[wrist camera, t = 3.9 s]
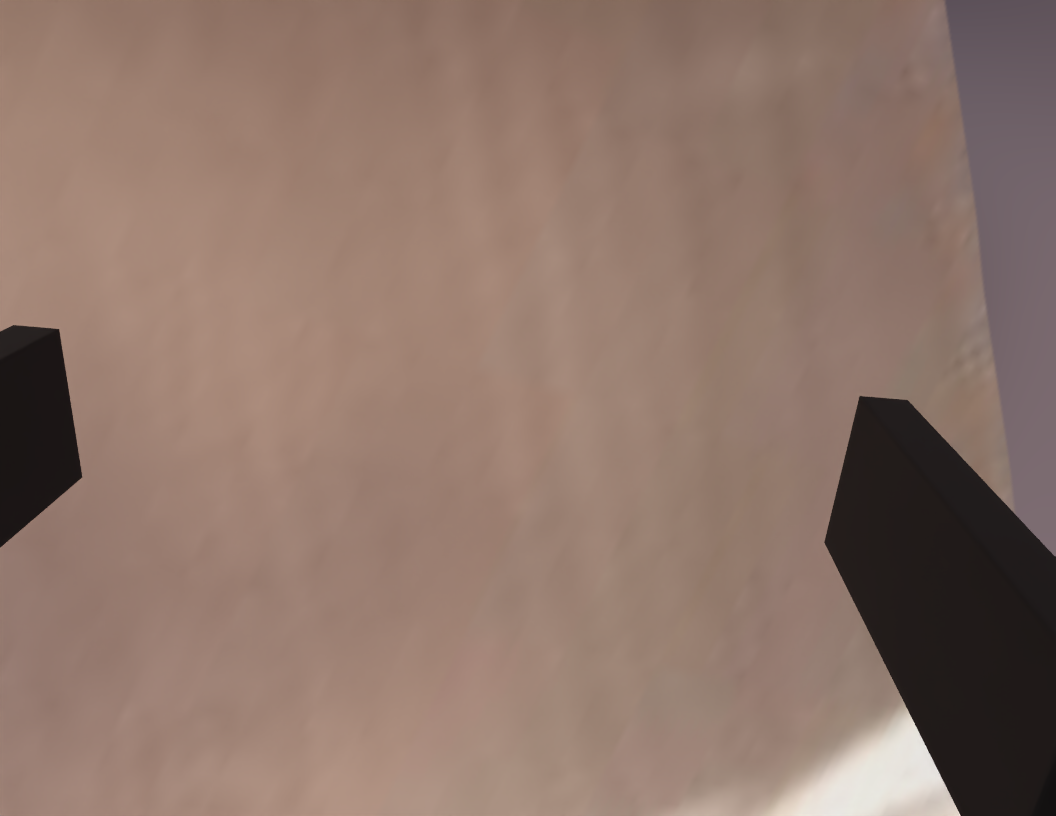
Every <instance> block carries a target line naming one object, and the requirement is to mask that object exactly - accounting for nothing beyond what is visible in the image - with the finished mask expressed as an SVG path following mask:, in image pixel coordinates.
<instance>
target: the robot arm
mask: <svg viewBox="0 0 1056 816" xmlns="http://www.w3.org/2000/svg"><path fill="white" fill-rule="evenodd" d="M81 478H82V472H81V466H80V460H79V453H78V447H77V440H76V434H75V428H74V421H73V415H72V409H71V402H70V396H69V390H68V383H67V377H66V370H65V364H64V358H63V351H62V345H61V339H60V332H59V329H51V328H40V327H28V326H16V325H13V326H11V327H9V328H7V329H5V330H3V331H1V332H0V547H1V546H3V545H4V544H5V543H6V542H7V541H8V540H10V539H11V538H12V537H13V536H14V535H15V534H17V533H18V532H19V531H20V530H21V529H22V528H24V527H25V526H26V525H27V524H28V523H29V522H31V521H32V520H33V519H34V518H35V517H36V516H38V515H39V514H40V513H41V512H42V511H43V510H45V509H46V508H47V507H48V506H49V505H50V504H52V503H53V502H54V501H55V500H56V499H57V498H59V497H60V496H61V495H62V494H63V493H64V492H66V491H67V490H68V489H69V488H70V487H71V486H73V485H74V484H75V483H76V482H77V481H78V480H80V479H81ZM824 543H825V545H826V547H827V549H828V551H829V553H830V555H831V557H832V559H833V561H834V563H835V565H836V567H837V569H838V571H839V573H840V575H841V577H842V579H843V581H844V583H845V585H846V587H847V589H848V591H849V593H850V595H851V597H852V599H853V601H854V603H855V605H856V607H857V609H858V611H859V613H860V615H861V617H862V619H863V621H864V623H865V625H866V627H867V629H868V631H869V633H870V635H871V637H872V639H873V641H874V643H875V645H876V647H877V649H878V651H879V653H880V655H881V657H882V659H883V661H884V663H885V665H886V667H887V669H888V671H889V673H890V675H891V677H892V679H893V681H894V683H895V685H896V687H897V689H898V691H899V693H900V695H901V697H902V699H903V701H904V703H905V705H906V707H907V709H908V711H909V713H910V715H911V717H912V719H913V721H914V723H915V725H916V727H917V729H918V731H919V733H920V735H921V737H922V739H923V741H924V743H925V745H926V747H927V749H928V751H929V753H930V755H931V757H932V759H933V761H934V763H935V765H936V767H937V769H938V771H939V773H940V775H941V777H942V779H943V781H944V783H945V785H946V787H947V789H948V791H949V793H950V795H951V797H952V799H953V801H954V803H955V805H956V807H957V809H958V811H959V813H960V815H961V816H1056V557H1055V556H1054V555H1053V554H1052V553H1051V552H1050V551H1049V550H1048V549H1047V548H1046V547H1045V546H1044V545H1043V544H1042V543H1041V542H1040V540H1039V539H1038V538H1037V537H1036V536H1035V535H1034V534H1033V533H1032V532H1031V531H1030V530H1029V529H1028V528H1027V527H1026V526H1025V524H1024V523H1023V522H1022V521H1021V520H1020V519H1019V518H1018V517H1017V516H1016V515H1015V514H1014V513H1013V512H1012V511H1011V510H1010V508H1009V507H1008V506H1007V505H1006V504H1005V503H1004V502H1003V501H1002V500H1001V499H1000V498H999V497H998V496H997V495H996V494H995V493H994V491H993V490H992V489H991V488H990V487H989V486H988V485H987V484H986V483H985V482H984V481H983V480H982V479H981V478H980V477H979V476H978V474H977V473H976V472H975V471H974V470H973V469H972V468H971V467H970V466H969V465H968V464H967V463H966V462H965V461H964V460H963V459H962V457H961V456H960V455H959V454H958V453H957V452H956V451H955V450H954V449H953V448H952V447H951V446H950V445H949V444H948V443H947V442H946V440H945V439H944V438H943V437H942V436H941V435H940V434H939V433H938V432H937V431H936V430H935V429H934V428H933V427H932V426H931V425H930V423H929V422H928V421H927V420H926V419H925V418H924V417H923V416H922V415H921V414H920V413H919V412H918V411H917V410H916V409H915V408H914V406H913V405H912V404H911V403H910V402H909V401H908V400H899V399H887V398H875V397H863V396H860V397H859V401H858V405H857V409H856V414H855V418H854V422H853V426H852V430H851V434H850V439H849V443H848V447H847V451H846V455H845V459H844V463H843V468H842V472H841V476H840V480H839V484H838V488H837V492H836V497H835V501H834V505H833V509H832V513H831V517H830V522H829V526H828V530H827V534H826V538H825V542H824Z"/></svg>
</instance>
